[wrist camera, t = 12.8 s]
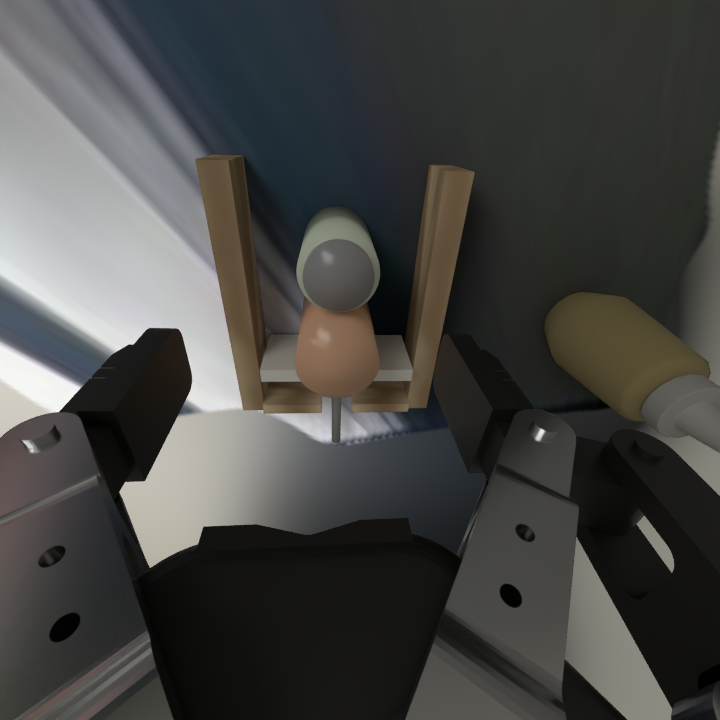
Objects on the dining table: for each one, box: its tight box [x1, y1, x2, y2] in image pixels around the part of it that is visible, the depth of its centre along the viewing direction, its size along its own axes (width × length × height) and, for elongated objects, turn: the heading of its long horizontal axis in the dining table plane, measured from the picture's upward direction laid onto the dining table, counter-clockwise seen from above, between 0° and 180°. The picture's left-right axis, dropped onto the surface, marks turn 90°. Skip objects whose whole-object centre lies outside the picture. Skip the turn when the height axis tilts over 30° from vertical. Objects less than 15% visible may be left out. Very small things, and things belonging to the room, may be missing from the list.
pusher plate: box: [260, 334, 413, 443], centre depth 35 cm, size 13×13×6 cm
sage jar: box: [296, 206, 380, 312], centre depth 26 cm, size 6×6×9 cm
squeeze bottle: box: [544, 292, 720, 453], centre depth 28 cm, size 8×8×18 cm
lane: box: [195, 154, 475, 414], centre depth 30 cm, size 18×21×5 cm
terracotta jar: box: [295, 297, 380, 398], centre depth 28 cm, size 6×6×10 cm
